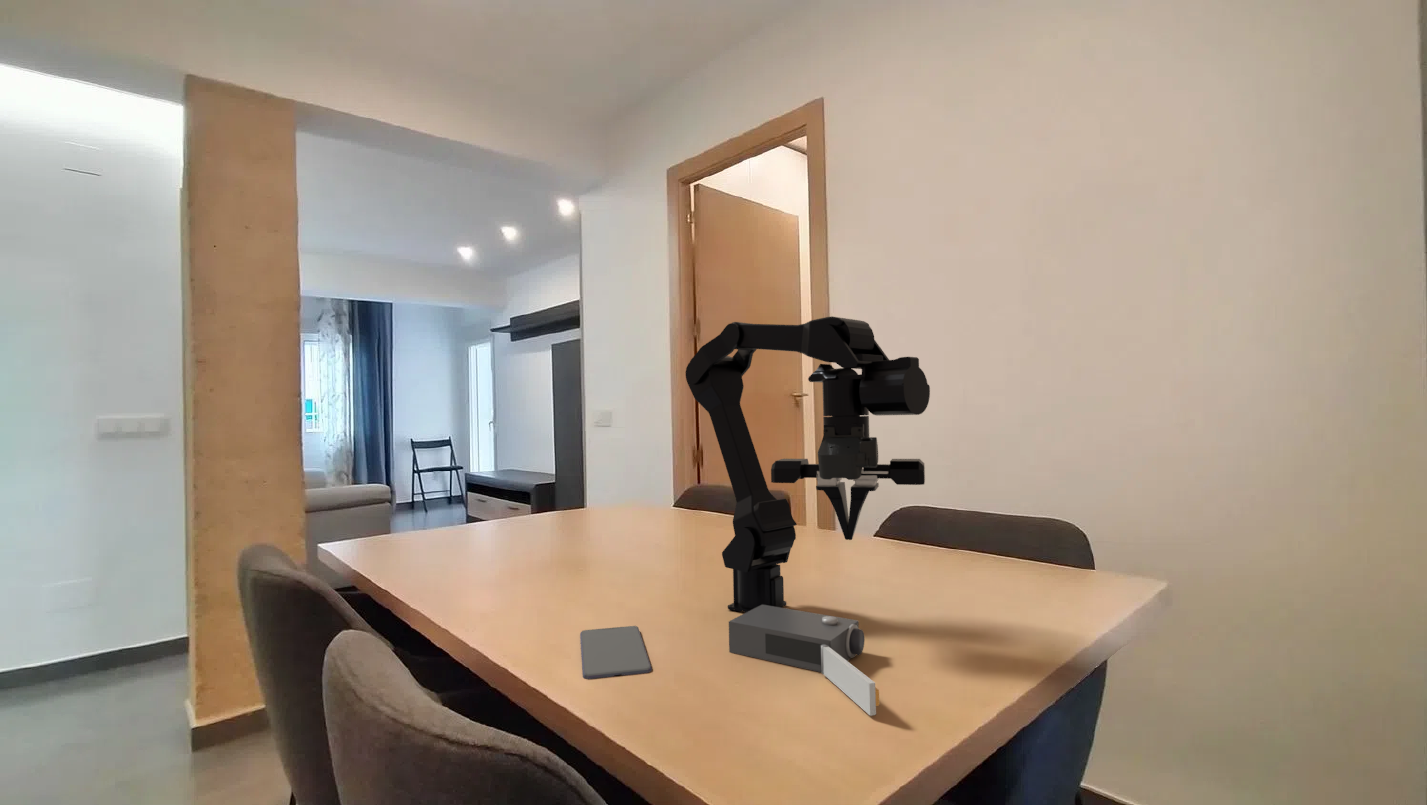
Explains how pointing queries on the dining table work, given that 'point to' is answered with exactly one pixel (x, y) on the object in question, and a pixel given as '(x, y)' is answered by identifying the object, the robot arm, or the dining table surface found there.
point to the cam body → (793, 636)
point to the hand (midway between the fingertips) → (848, 539)
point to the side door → (849, 680)
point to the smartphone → (613, 652)
